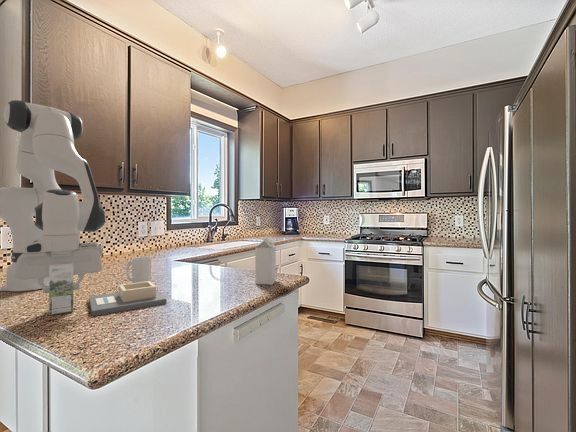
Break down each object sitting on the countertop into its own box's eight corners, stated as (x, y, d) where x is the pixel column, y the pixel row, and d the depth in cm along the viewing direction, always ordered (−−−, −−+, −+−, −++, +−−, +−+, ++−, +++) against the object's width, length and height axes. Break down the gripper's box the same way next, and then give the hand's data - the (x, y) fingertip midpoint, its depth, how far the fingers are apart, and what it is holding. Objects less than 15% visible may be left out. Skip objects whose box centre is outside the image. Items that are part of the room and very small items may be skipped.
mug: (155, 287, 116) (155, 256, 116) (143, 291, 109) (143, 259, 109) (132, 286, 118) (132, 256, 118) (120, 290, 111) (119, 258, 111)
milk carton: (255, 284, 120) (255, 238, 120) (259, 280, 128) (259, 236, 127) (272, 285, 119) (272, 238, 119) (275, 281, 126) (275, 237, 126)
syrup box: (73, 307, 91) (73, 260, 91) (73, 312, 86) (73, 263, 86) (50, 310, 88) (49, 262, 88) (48, 316, 83) (48, 265, 83)
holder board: (89, 300, 98) (88, 285, 98) (153, 291, 109) (153, 278, 109) (92, 316, 83) (92, 298, 83) (166, 303, 95) (166, 288, 95)
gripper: (102, 241, 96) (102, 283, 96) (16, 245, 83) (17, 294, 84) (103, 243, 90) (103, 287, 91) (13, 247, 78) (13, 299, 78)
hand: (61, 290), depth 87 cm, fingers closed on syrup box, 6 cm apart
